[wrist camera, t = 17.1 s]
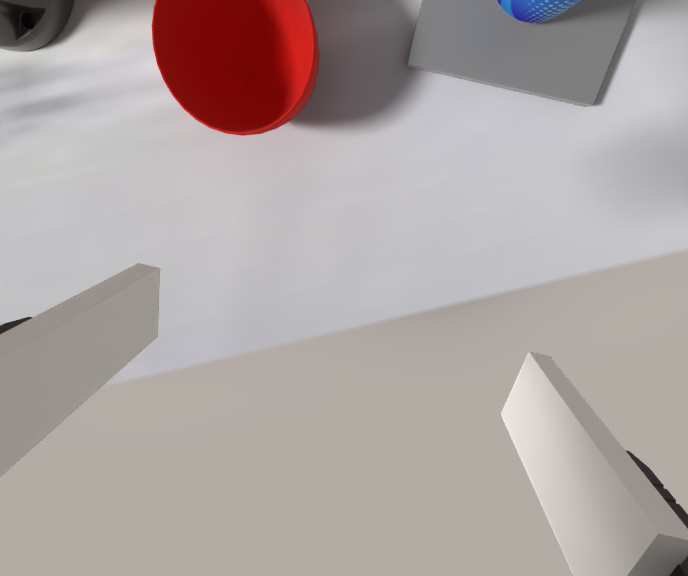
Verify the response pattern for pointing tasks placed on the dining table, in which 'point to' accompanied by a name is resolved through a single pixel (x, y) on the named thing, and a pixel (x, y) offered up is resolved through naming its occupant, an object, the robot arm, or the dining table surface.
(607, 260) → the dining table surface
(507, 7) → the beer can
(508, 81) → the slate tile
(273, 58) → the ceramic cup
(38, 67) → the dining table surface
